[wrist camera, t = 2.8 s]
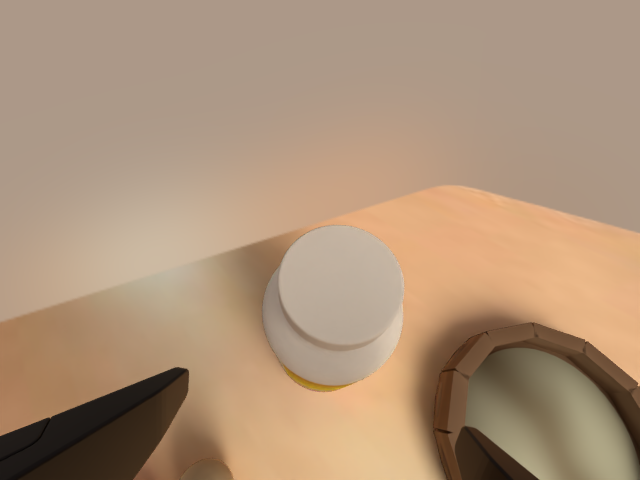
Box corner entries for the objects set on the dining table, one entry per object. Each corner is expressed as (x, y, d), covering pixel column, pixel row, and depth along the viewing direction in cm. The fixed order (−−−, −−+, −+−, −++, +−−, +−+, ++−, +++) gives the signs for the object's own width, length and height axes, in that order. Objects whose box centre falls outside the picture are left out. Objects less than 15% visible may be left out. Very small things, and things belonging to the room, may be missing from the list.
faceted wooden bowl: (595, 672, 15) (639, 713, 13) (391, 425, 20) (401, 428, 18) (685, 450, 20) (727, 455, 18) (505, 294, 24) (522, 285, 22)
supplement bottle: (383, 364, 21) (473, 324, 10) (300, 411, 20) (295, 425, 8) (340, 285, 24) (372, 183, 13) (264, 320, 22) (224, 238, 11)
